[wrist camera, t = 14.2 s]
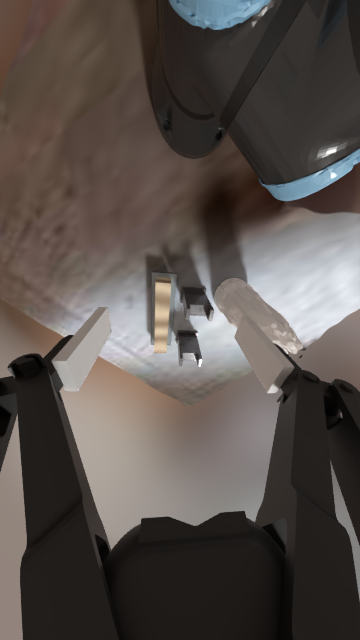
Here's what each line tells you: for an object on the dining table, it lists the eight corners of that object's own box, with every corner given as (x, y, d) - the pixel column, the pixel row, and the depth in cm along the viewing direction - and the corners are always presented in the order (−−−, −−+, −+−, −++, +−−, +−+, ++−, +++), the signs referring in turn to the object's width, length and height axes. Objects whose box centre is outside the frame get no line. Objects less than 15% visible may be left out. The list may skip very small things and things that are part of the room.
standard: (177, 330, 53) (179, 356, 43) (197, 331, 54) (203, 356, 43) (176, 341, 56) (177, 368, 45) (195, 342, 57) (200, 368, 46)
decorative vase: (208, 305, 49) (238, 366, 28) (222, 273, 44) (272, 317, 22) (238, 313, 51) (287, 375, 30) (255, 283, 46) (329, 332, 25)
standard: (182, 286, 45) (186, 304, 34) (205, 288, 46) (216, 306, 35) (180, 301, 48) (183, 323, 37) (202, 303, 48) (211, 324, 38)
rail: (156, 276, 43) (155, 282, 38) (171, 277, 43) (171, 283, 39) (155, 342, 55) (154, 352, 51) (166, 343, 55) (166, 353, 51)
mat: (151, 271, 42) (151, 272, 42) (176, 274, 43) (176, 274, 43) (151, 343, 56) (151, 344, 55) (170, 344, 56) (170, 345, 56)
